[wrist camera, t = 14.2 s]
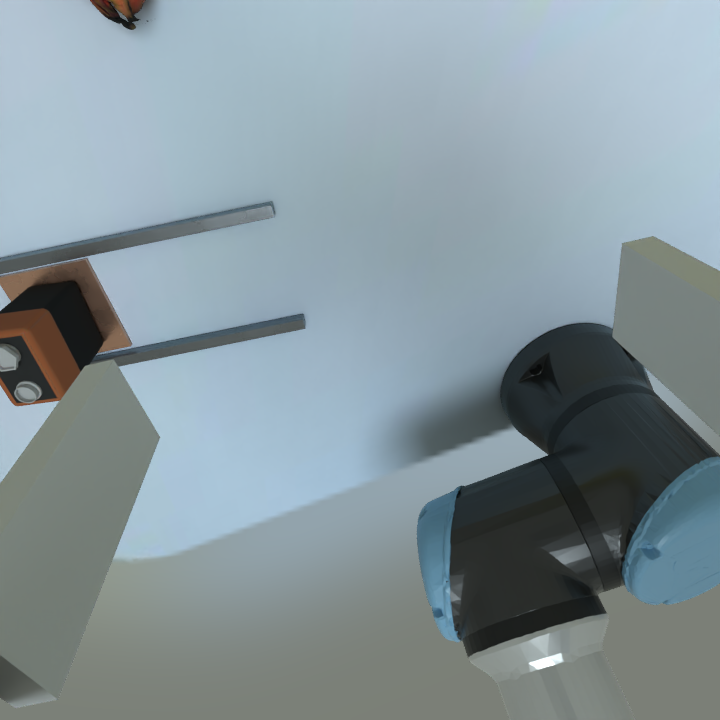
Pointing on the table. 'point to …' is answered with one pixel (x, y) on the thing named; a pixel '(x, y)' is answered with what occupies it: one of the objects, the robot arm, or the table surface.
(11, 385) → the battery
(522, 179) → the table surface
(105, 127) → the table surface
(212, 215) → the rail
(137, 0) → the dragon fruit
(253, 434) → the table surface
